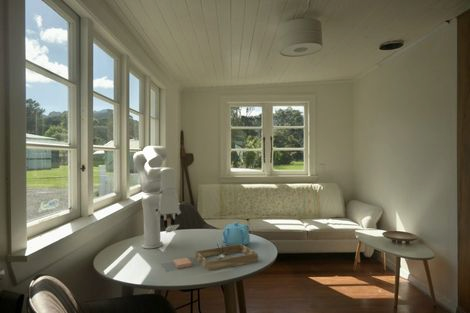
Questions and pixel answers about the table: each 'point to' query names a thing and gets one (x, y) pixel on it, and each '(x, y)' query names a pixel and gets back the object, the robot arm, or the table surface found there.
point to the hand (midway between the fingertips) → (169, 226)
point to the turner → (170, 225)
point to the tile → (182, 263)
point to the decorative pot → (236, 234)
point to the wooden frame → (234, 261)
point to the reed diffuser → (221, 255)
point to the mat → (171, 267)
